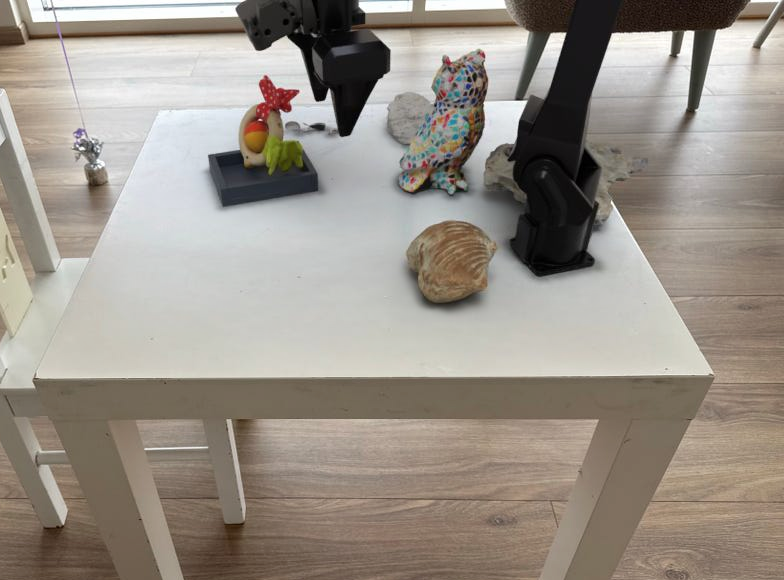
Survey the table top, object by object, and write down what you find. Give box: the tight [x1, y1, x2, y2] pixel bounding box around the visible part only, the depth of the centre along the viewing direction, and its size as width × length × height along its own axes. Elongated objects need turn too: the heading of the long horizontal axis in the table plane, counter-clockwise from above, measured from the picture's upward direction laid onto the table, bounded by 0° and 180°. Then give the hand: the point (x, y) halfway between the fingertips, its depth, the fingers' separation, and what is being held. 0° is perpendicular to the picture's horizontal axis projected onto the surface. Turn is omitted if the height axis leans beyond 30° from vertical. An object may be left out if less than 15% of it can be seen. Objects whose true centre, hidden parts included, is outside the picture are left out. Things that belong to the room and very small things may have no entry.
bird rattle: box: [238, 74, 304, 175], centre depth 87 cm, size 6×11×9 cm
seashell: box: [405, 219, 499, 304], centre depth 71 cm, size 9×7×8 cm
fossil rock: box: [482, 139, 649, 227], centre depth 82 cm, size 20×6×15 cm
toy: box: [284, 120, 338, 137], centre depth 99 cm, size 1×8×2 cm
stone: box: [386, 91, 433, 145], centre depth 98 cm, size 10×5×10 cm
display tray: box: [207, 140, 319, 207], centre depth 89 cm, size 12×9×2 cm
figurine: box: [397, 48, 489, 195], centre depth 83 cm, size 9×9×15 cm
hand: (331, 117), depth 76 cm, fingers open, 9 cm apart
